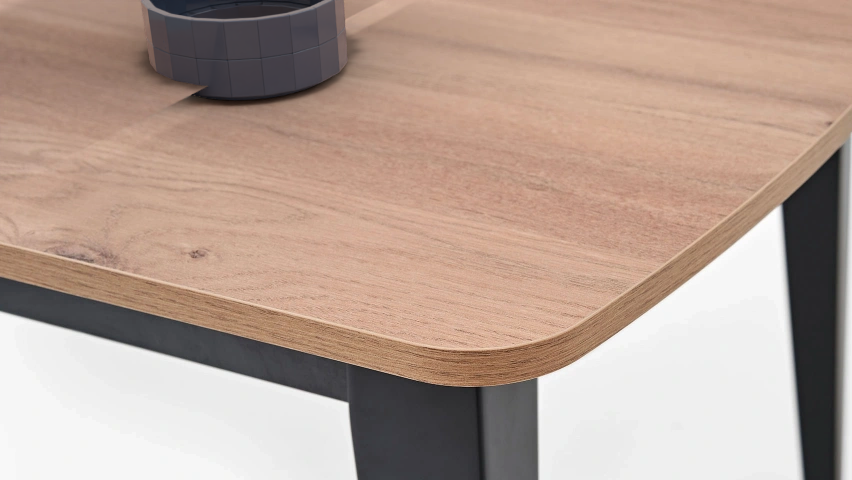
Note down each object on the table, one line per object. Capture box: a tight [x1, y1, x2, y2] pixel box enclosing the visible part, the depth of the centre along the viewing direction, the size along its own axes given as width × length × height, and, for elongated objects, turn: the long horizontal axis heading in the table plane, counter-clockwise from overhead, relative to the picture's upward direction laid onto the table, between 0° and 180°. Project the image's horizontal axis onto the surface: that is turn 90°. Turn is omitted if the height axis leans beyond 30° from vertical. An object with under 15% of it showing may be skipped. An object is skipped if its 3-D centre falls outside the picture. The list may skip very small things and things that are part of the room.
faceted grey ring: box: [140, 0, 348, 101], centre depth 88 cm, size 14×14×6 cm
